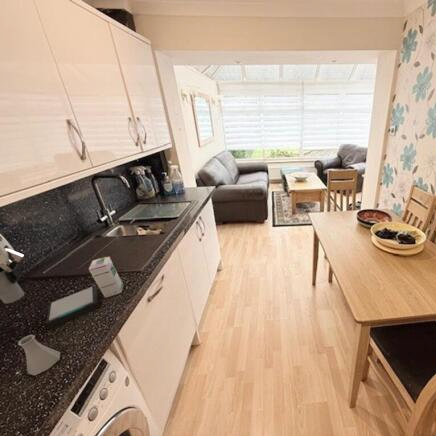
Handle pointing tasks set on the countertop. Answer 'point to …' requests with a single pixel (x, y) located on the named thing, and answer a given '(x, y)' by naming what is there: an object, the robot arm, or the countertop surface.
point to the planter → (9, 289)
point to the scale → (72, 306)
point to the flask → (38, 355)
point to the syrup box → (106, 276)
